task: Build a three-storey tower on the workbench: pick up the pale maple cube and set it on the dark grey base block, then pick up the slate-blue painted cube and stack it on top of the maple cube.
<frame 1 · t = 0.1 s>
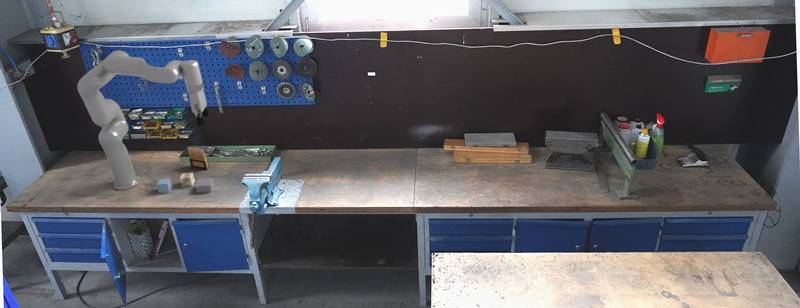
hand: (203, 120, 265), 31 cm above the table, tool pointing down, fingers open, 9 cm apart
ammunition clip: (200, 168, 288), on the table
blue cube: (165, 190, 270), on the table
base block: (206, 189, 269), on the table
maple cube: (188, 184, 274), on the table
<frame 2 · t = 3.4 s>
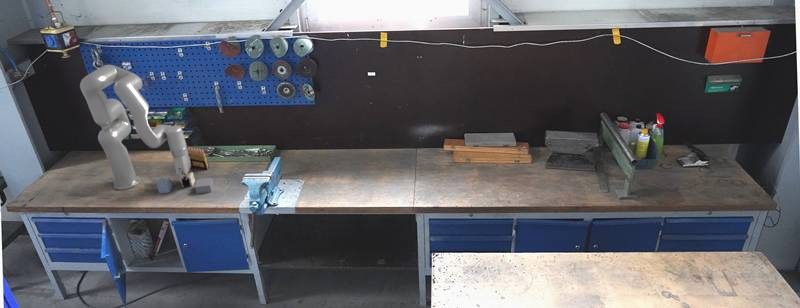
hand: (188, 182, 274), 1 cm above the table, tool pointing down, fingers closed on maple cube, 5 cm apart
maple cube: (188, 184, 274), on the table, touching gripper
everything else where it was.
when the fingers open (6 cm above the table, at t = 8.2 s): maple cube drops 1 cm, resting on base block.
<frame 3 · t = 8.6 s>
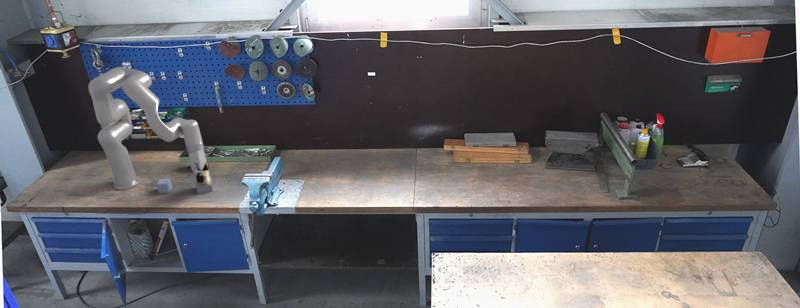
hand: (203, 177, 266), 6 cm above the table, tool pointing down, fingers open, 9 cm apart
base block: (205, 189, 269), on the table, touching maple cube
maple cube: (204, 182, 267), point 4 cm above the table, touching base block
everything else where it was.
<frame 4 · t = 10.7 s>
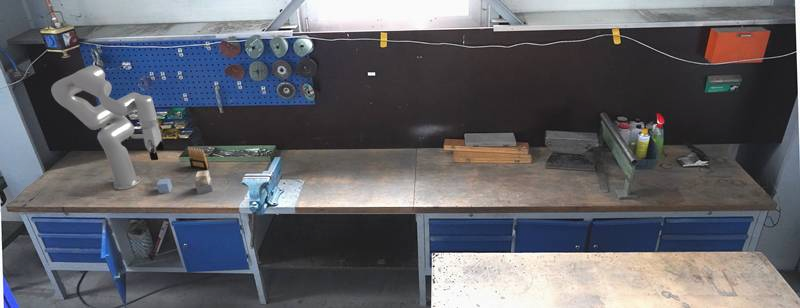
hand: (157, 154, 261), 20 cm above the table, tool pointing down, fingers open, 9 cm apart
nothing on the table moved.
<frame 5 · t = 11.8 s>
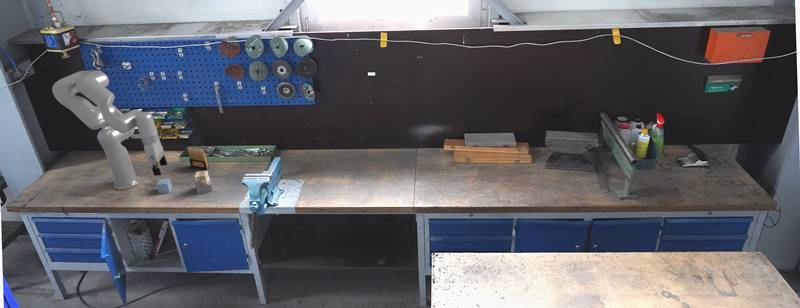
hand: (161, 170, 264), 11 cm above the table, tool pointing down, fingers open, 9 cm apart
nothing on the table moved.
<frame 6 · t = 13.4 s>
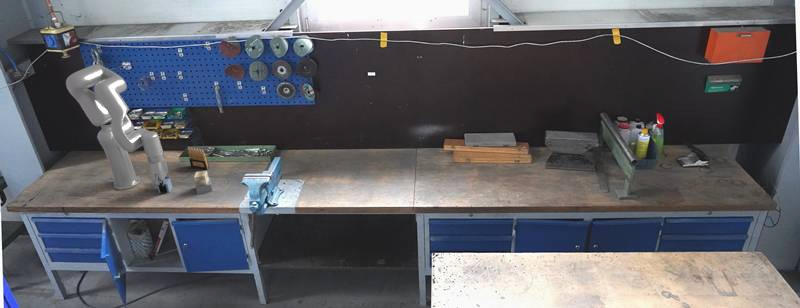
hand: (165, 188, 270), 1 cm above the table, tool pointing down, fingers closed on blue cube, 5 cm apart
blue cube: (165, 190, 270), on the table, touching gripper
everything else where it was.
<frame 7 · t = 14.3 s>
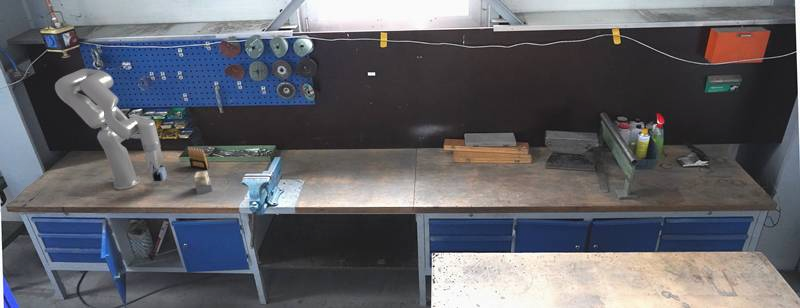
hand: (159, 177, 267), 7 cm above the table, tool pointing down, fingers closed on blue cube, 5 cm apart
blue cube: (160, 178, 267), point 6 cm above the table, touching gripper
everything else where it was.
when the fingers open (11 cm above the table, at t = 18.9 s): blue cube drops 1 cm, resting on maple cube.
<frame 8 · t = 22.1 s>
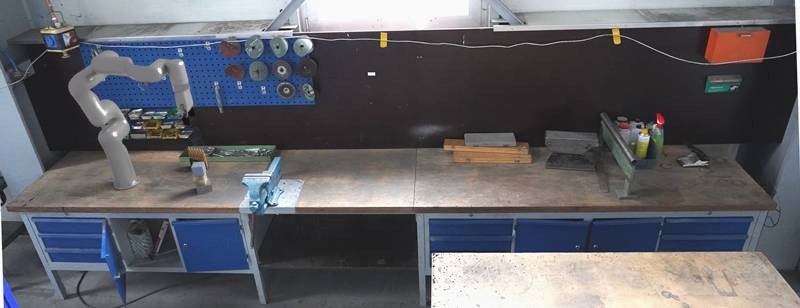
hand: (189, 120, 260), 33 cm above the table, tool pointing down, fingers open, 9 cm apart
blue cube: (200, 173, 265), point 9 cm above the table, touching maple cube
maple cube: (201, 182, 267), point 4 cm above the table, touching base block, blue cube
everything else where it was.
at the end: maple cube 0.7 cm off-centre on the base block, point 4.0 cm above the base block's base; blue cube 0.5 cm off-centre on the maple cube, point 5.0 cm above the maple cube's base; blue cube tilted 0° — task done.
